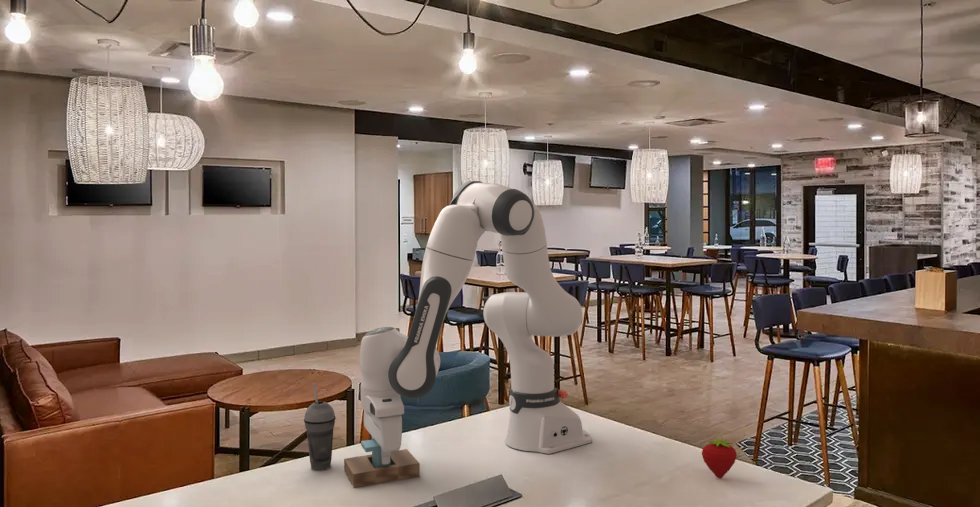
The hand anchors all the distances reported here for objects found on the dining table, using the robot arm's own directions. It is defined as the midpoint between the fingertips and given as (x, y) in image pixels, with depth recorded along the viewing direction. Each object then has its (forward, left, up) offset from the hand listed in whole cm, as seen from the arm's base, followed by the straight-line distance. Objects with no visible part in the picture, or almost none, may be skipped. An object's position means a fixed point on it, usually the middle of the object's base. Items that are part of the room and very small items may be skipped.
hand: (381, 458), depth 151 cm
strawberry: (-68, +34, -4) cm, 76 cm away
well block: (0, 0, -4) cm, 4 cm away
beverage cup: (+12, -10, -4) cm, 16 cm away
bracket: (+1, 0, -2) cm, 3 cm away
